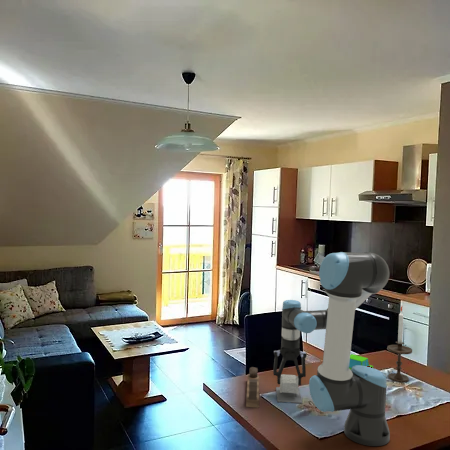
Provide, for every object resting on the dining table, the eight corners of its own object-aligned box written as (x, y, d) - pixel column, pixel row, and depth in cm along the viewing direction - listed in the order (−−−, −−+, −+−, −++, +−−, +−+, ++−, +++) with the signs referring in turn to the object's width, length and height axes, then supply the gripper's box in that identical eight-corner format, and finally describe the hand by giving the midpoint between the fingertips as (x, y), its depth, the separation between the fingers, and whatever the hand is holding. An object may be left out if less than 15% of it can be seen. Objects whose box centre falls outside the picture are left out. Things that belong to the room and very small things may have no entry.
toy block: (375, 376, 208) (376, 355, 207) (363, 383, 198) (364, 362, 198) (355, 370, 215) (356, 350, 214) (342, 377, 205) (343, 356, 205)
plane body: (258, 407, 171) (259, 382, 171) (246, 406, 172) (246, 381, 171) (258, 381, 197) (259, 359, 197) (247, 381, 197) (248, 359, 197)
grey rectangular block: (297, 393, 178) (297, 383, 178) (282, 392, 179) (282, 382, 179) (295, 384, 187) (295, 375, 187) (281, 383, 188) (281, 374, 188)
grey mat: (302, 403, 176) (302, 402, 176) (277, 402, 177) (277, 401, 177) (299, 389, 190) (299, 388, 190) (276, 388, 191) (276, 387, 191)
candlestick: (411, 384, 198) (414, 308, 197) (386, 380, 202) (389, 305, 201) (410, 376, 208) (413, 303, 207) (386, 372, 212) (389, 301, 211)
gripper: (312, 336, 185) (310, 389, 186) (267, 333, 187) (265, 387, 188) (314, 341, 178) (312, 397, 179) (267, 339, 179) (266, 394, 180)
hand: (288, 392), depth 183 cm, fingers closed on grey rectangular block, 6 cm apart
